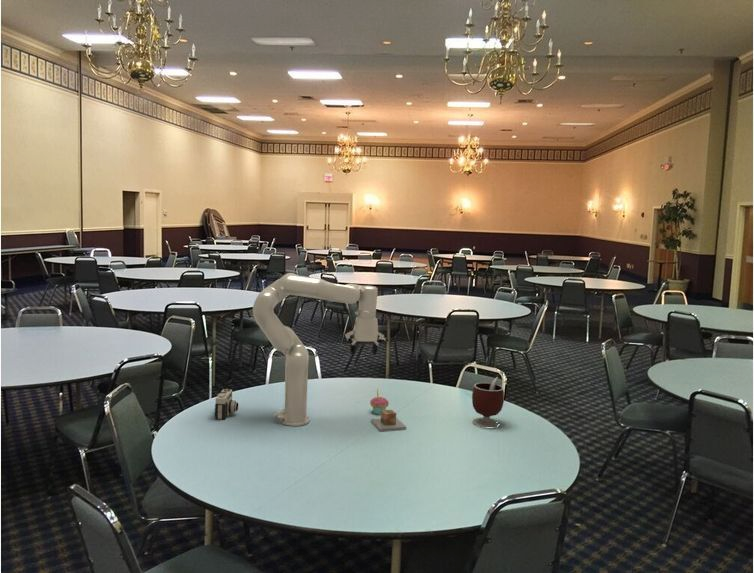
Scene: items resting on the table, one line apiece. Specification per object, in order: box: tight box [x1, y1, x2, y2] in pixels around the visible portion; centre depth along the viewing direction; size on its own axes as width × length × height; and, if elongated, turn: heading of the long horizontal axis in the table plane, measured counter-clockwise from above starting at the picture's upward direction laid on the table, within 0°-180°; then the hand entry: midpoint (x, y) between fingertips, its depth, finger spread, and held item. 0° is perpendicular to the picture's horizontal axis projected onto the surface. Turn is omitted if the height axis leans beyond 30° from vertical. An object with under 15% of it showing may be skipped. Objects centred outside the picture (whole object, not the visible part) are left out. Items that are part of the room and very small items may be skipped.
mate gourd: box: [471, 376, 505, 428], centre depth 262 cm, size 16×14×20 cm
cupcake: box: [369, 387, 389, 415], centre depth 270 cm, size 9×8×12 cm
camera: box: [214, 388, 239, 421], centre depth 258 cm, size 14×8×10 cm, turn 1°
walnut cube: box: [380, 409, 397, 425], centre depth 254 cm, size 5×5×5 cm
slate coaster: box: [370, 417, 407, 433], centre depth 254 cm, size 12×12×1 cm
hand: (363, 353), depth 253 cm, fingers open, 9 cm apart
